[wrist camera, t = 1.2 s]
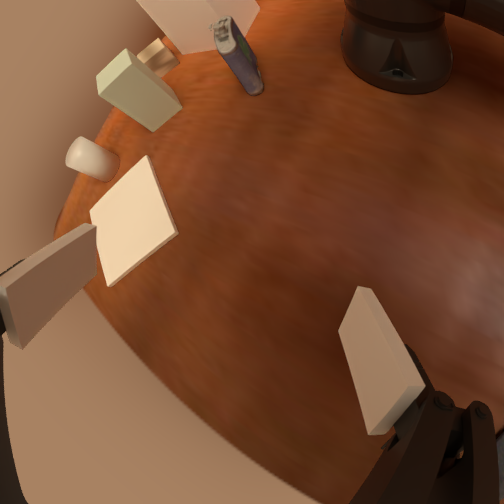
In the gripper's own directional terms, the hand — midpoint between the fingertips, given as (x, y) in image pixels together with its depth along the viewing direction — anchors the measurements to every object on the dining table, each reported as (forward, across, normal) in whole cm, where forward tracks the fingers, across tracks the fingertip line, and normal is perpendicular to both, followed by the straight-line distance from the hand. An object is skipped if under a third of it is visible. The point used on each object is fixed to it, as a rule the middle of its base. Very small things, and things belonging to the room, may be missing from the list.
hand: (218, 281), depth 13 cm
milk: (+39, -12, +26) cm, 49 cm away
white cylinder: (+32, -24, -2) cm, 40 cm away
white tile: (+25, -16, -8) cm, 31 cm away
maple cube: (+40, -20, +18) cm, 48 cm away
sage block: (+33, -16, +9) cm, 38 cm away
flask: (+30, -3, +16) cm, 34 cm away
